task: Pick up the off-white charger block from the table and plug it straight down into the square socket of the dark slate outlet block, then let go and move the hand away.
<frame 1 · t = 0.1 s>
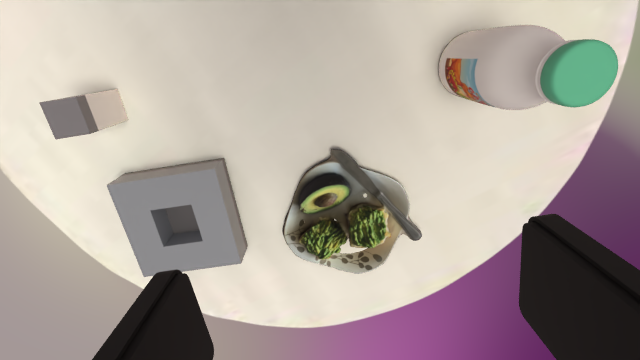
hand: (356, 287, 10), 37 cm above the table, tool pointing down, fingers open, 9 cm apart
outlet block: (189, 211, 49), on the table
salad plate: (343, 212, 50), on the table
charger: (108, 107, 44), on the table
milk bottle: (467, 64, 43), on the table
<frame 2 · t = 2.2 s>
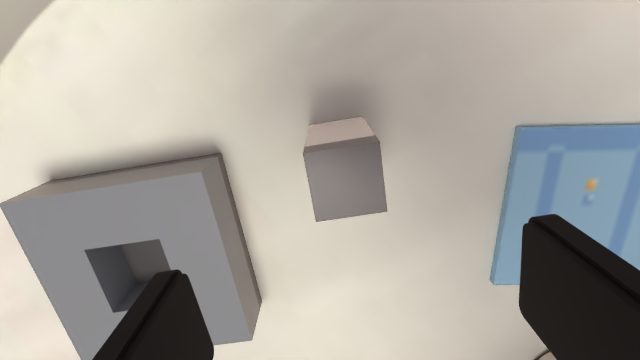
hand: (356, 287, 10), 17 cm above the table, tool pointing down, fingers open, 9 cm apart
outlet block: (162, 245, 29), on the table
charger: (339, 146, 26), on the table
blue striped cloth: (570, 203, 28), on the table
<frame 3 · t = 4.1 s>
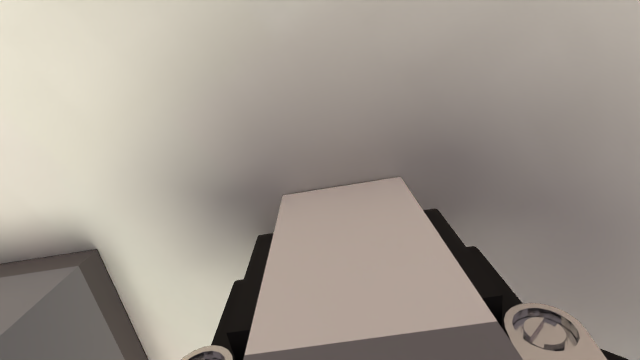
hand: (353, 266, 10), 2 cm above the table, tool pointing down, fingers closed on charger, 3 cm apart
charger: (349, 237, 12), on the table, touching gripper
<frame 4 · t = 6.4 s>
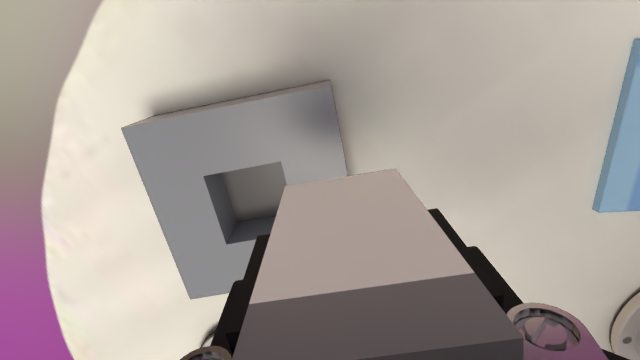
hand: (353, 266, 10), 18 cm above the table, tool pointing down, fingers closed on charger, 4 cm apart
outlet block: (262, 182, 28), on the table
charger: (347, 227, 13), point 15 cm above the table, touching gripper
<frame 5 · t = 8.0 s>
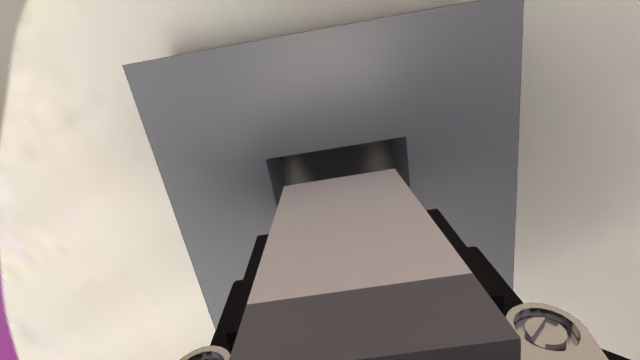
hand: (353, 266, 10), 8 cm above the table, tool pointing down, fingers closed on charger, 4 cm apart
outlet block: (339, 174, 18), on the table
charger: (346, 227, 13), point 6 cm above the table, touching gripper
when the fingers open (5 cm above the table, at t = 9.0 s): charger drops 2 cm, resting on outlet block.
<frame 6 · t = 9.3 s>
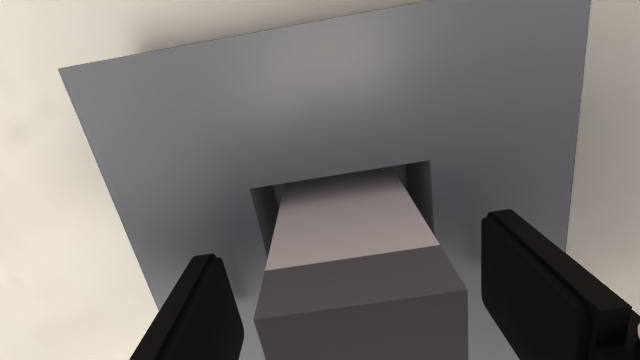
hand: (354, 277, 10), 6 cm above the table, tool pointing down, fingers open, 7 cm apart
outlet block: (341, 197, 15), on the table
charger: (343, 208, 14), point 1 cm above the table, touching outlet block
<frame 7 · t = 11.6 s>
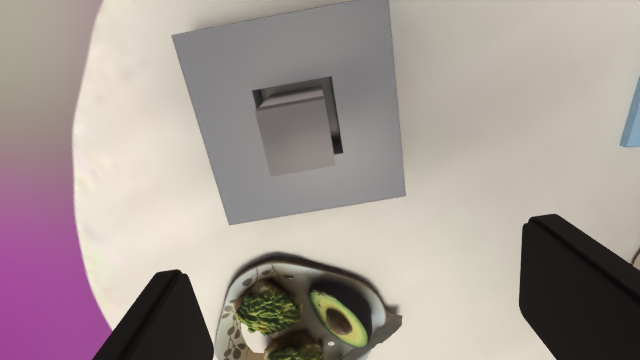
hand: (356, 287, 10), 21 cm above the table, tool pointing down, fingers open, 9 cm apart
outlet block: (301, 112, 28), on the table
salad plate: (303, 319, 37), on the table
charger: (300, 115, 27), point 1 cm above the table, touching outlet block
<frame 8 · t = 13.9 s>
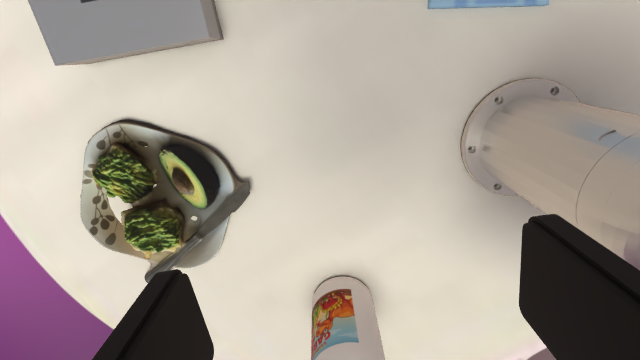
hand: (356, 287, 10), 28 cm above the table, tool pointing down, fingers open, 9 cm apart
salad plate: (167, 193, 40), on the table
milk bottle: (341, 297, 45), on the table
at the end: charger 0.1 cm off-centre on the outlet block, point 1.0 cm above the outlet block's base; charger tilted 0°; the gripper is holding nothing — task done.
